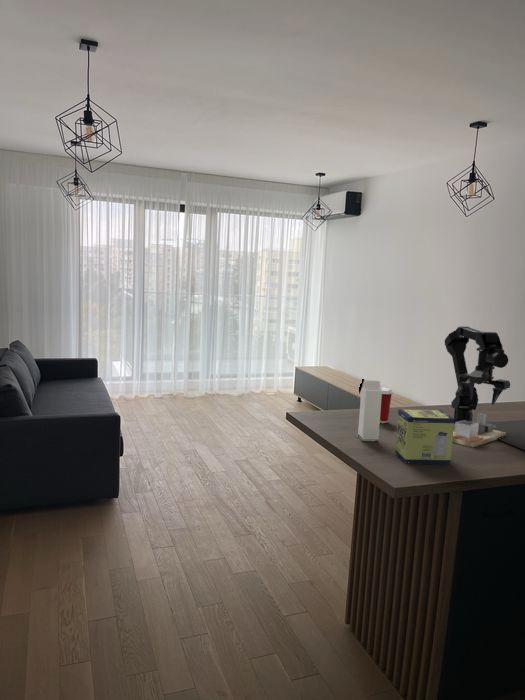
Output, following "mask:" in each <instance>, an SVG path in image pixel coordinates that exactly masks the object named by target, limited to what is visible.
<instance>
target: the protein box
mask: <svg viewBox="0 0 525 700" xmlns="http://www.w3.org/2000/svg"><path fill="white" fill-rule="evenodd" d="M396 425H397V427H396V436H395V437H396V441H395V451H394V453H395V452H396V453H397V455H398V456H399V457H400V458H401V459H402V460H403V461H404V462H406V463H408V462H409V463H422V464H421V465H451V461H452V452H453V451H452V449H453V442H452V441H453V431H455V422H454V417H452V416H451V415H450V414H448V413H446V412H444V411H443V410H441V409H440V410H438V409H436V410H435V409H431V410H430V409H429V410H428V409H400V408H399V409H398V412H397V424H396ZM396 453H395V454H396ZM397 455H396V456H397ZM398 456H397V457H398ZM399 457H398V458H399ZM400 458H399V459H400ZM401 459H400V460H401ZM402 460H401V461H402ZM403 461H402V462H403ZM404 462H403V463H404Z"/></svg>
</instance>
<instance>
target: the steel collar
mask: <svg viewBox="0 0 525 700" xmlns="http://www.w3.org/2000/svg"><path fill="white" fill-rule="evenodd" d="M478 427H479V424H478V423H477V422H473V421H472V422H470V421H466V420H462V421H458V422H454V431H455V433H454V435H455V436H459V437H463V438H466V439H472V438H475V437H477V436H478Z"/></svg>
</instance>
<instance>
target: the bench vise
mask: <svg viewBox="0 0 525 700" xmlns="http://www.w3.org/2000/svg"><path fill="white" fill-rule="evenodd" d="M476 416H477V417H476V423H478V424H479V427H478V435H481V434H484V432H487V433H488V432H491V431H493V429H495V428H497V427H496V425H494V424H492V423H489V422H486V420H487V414H486V413H481V412H480V413H477V415H476Z"/></svg>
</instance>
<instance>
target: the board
mask: <svg viewBox="0 0 525 700" xmlns="http://www.w3.org/2000/svg"><path fill="white" fill-rule="evenodd" d="M454 433H455V430H453V441H452V443H455V444H458V445H462V446H465V447H469V448H475V447H479V446H481V445H484V444H487V443H490V442H493V441H496V440H498V439H497V438H498V437H501V436H503V435H507V432H506V431H501V430H497V429H495V428H493V431H491V432H488V433H487V432H484V434H481V435H478V436H477V437H475V438H472V439H466V438H463V437H459V436H455V435H454Z"/></svg>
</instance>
